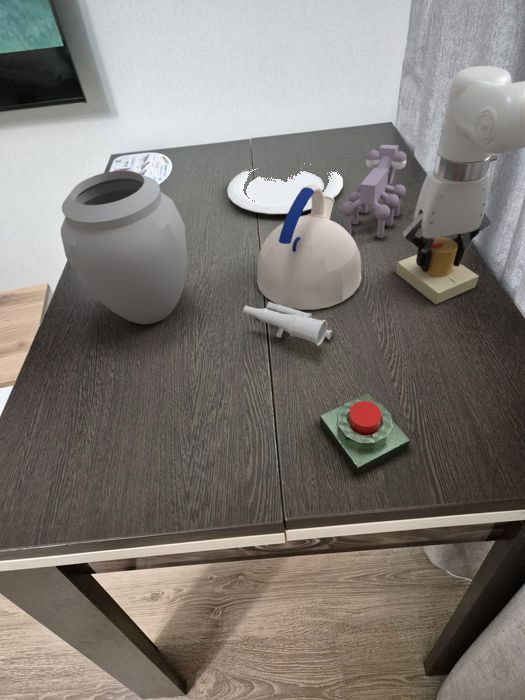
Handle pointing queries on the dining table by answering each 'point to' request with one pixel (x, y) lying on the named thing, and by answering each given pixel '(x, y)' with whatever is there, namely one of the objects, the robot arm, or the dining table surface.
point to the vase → (126, 244)
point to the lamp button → (364, 417)
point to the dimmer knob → (442, 256)
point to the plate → (278, 191)
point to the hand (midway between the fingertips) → (437, 263)
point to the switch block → (363, 437)
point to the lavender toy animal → (377, 189)
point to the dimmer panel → (437, 280)
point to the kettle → (309, 257)
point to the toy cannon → (292, 322)
